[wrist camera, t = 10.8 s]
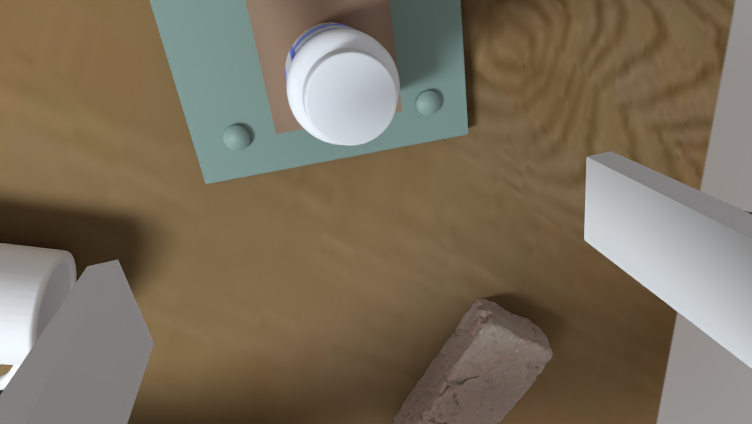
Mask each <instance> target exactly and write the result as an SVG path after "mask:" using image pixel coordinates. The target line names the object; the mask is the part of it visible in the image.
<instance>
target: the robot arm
mask: <svg viewBox="0 0 752 424" xmlns="http://www.w3.org/2000/svg"><path fill="white" fill-rule="evenodd" d="M584 240H585V241H586V242H587V243H589V244H590V245H591V246H593V247H594V248H595V249H597V250H598V251H599V252H600V253H602V254H603V255H604V256H606V257H607V258H608V259H610V260H611V261H612V262H613V263H615V264H616V265H617V266H619V267H620V268H621V269H623V270H624V271H625V272H626V273H628V274H629V275H630V276H632V277H633V278H634V279H636V280H637V281H638V282H640V283H641V284H642V285H643V286H645V287H646V288H647V289H649V290H650V291H651V292H653V293H654V294H655V295H656V296H658V297H659V298H660V299H662V300H663V301H664V302H666V303H667V304H668V305H670V306H671V307H672V308H673V309H675V310H676V311H677V312H679V313H680V314H681V315H683V316H684V317H685V318H687V319H688V320H689V321H691V322H692V323H693V324H694V325H696V326H697V327H698V328H699V329H701V330H702V331H704V332H705V333H706V334H707V335H709V336H710V337H711V338H713V339H714V340H715V341H716V342H718V343H719V344H720V345H722V346H723V347H724V348H726V349H727V350H728V351H729V352H731V353H732V354H733V355H735V356H736V357H737V358H739V359H740V360H741V361H743V362H744V363H746V365H748V366H749V367H750V368H752V213H751V212H746V211H743V210H741V209H739V208H736V207H734V206H732V205H730V204H727V203H725V202H723V201H721V200H719V199H716V198H714V197H712V196H710V195H707V194H705V193H703V192H701V191H698V190H696V189H694V188H692V187H690V186H687V185H685V184H683V183H681V182H678V181H676V180H674V179H672V178H669V177H667V176H665V175H663V174H661V173H658V172H656V171H654V170H652V169H649V168H647V167H645V166H643V165H640V164H638V163H636V162H634V161H632V160H629V159H627V158H625V157H623V156H620V155H618V154H616V153H614V152H611V151H610V152H605V153H601V154H596V155H592V156H587V162H586V195H585V228H584ZM153 345H154V342H153V340H152V338H151V335H150V333H149V331H148V328H147V326H146V324H145V321H144V319H143V317H142V314H141V312H140V310H139V307H138V305H137V303H136V300H135V298H134V296H133V293H132V291H131V289H130V286H129V284H128V282H127V279H126V277H125V275H124V272H123V270H122V268H121V265H120V263H119V260H114V261H109V262H105V263H100V264H96V265H91V266H87V267H86V269H85V270H84V272H83V273H82V275H81V276H80V278H79V279H78V281H77V282H76V284H75V285H74V287H73V288H72V290H71V291H70V293H69V294H68V296H67V297H66V298H65V300H64V301H63V303H62V304H61V306H60V307H59V309H58V310H57V312H56V313H55V315H54V316H53V318H52V319H51V321H50V322H49V324H48V325H47V327H46V328H45V330H44V331H43V332H42V334H41V335H40V337H39V338H38V340H37V341H36V343H35V344H34V346H33V347H32V349H31V350H30V352H29V353H28V355H27V356H26V358H25V359H24V361H23V362H22V364H21V365H20V366H19V368H18V369H17V371H16V372H15V374H14V375H13V377H12V378H11V380H10V381H9V383H8V384H7V386H6V387H5V389H3V390H0V424H127V423H128V420H129V417H130V414H131V411H132V408H133V405H134V402H135V399H136V396H137V393H138V390H139V387H140V384H141V381H142V378H143V375H144V372H145V369H146V366H147V363H148V360H149V357H150V354H151V351H152V348H153Z"/></svg>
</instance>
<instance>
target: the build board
mask: <svg viewBox="0 0 752 424" xmlns="http://www.w3.org/2000/svg"><path fill="white" fill-rule="evenodd" d="M150 3H151V6H152V10H153V13H154V16H155V19H156V23H157V26H158V29H159V32H160V36H161V39H162V42H163V46H164V49H165V52H166V55H167V59H168V62H169V65H170V69H171V72H172V75H173V78H174V82H175V85H176V88H177V91H178V95H179V98H180V101H181V105H182V108H183V111H184V114H185V118H186V121H187V124H188V127H189V131H190V134H191V137H192V141H193V144H194V147H195V150H196V154H197V157H198V160H199V164H200V167H201V170H202V173H203V177H204V180H205V183H206V184H209V183H214V182H220V181H225V180H230V179H235V178H241V177H246V176H251V175H256V174H262V173H267V172H272V171H277V170H283V169H288V168H293V167H298V166H304V165H309V164H314V163H319V162H325V161H330V160H335V159H340V158H346V157H351V156H356V155H361V154H367V153H372V152H377V151H382V150H388V149H393V148H398V147H403V146H409V145H414V144H419V143H425V142H430V141H435V140H440V139H446V138H451V137H456V136H461V135H467V134H468V120H467V103H466V85H465V68H464V50H463V33H462V15H461V0H390V9H391V18H392V27H393V36H394V44H395V53H396V62H397V71H398V75H399V82H400V97H401V106H402V111H400V112H395V114H394V117H393V119H392V121H391V123H390V124H389V126H388V127H387V128H386V129H385V131H384V132H383V133H382V134H380V135H379V136H378V137H377V138H375V139H373V140H372V141H369V142H367V143H364V144H361V145H354V146H347V145H336V144H330V143H327V142H324V141H322V140H319V139H318V138H316V137H314V136H313V135H311V134H310V133H309V132H307V131H306V130H305V129H301V130H296V131H290V132H285V133H279V134H276V131H275V127H274V122H273V118H272V114H271V109H270V105H269V100H268V96H267V92H266V87H265V83H264V79H263V74H262V70H261V65H260V61H259V57H258V52H257V48H256V44H255V39H254V35H253V30H252V26H251V22H250V17H249V13H248V9H247V4H246V0H150Z"/></svg>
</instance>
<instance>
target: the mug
mask: <svg viewBox="0 0 752 424" xmlns="http://www.w3.org/2000/svg"><path fill="white" fill-rule="evenodd" d="M75 284H76V264H75V260H74V258H73V256H72V254H71V253H70V252H68V251H65V250H57V249H48V248H40V247H31V246H23V245H14V244H6V243H0V364H8V365H13V367H12V368H11V370H10V371H9V372H8V373H7V374H5V375H2V376H0V390H3V389H5V387H6V386H7V384H8V383H9V381H10V380H11V378H12V377H13V375H14V374H15V372H16V371H17V369H18V368H19V366H20V365H21V364H22V362H23V361H24V359H25V358H26V356H27V355H28V353H29V352H30V350H31V349H32V347H33V346H34V344H35V343H36V341H37V340H38V338H39V337H40V335H41V334H42V332H43V331H44V330H45V328H46V327H47V325H48V324H49V322H50V321H51V319H52V318H53V316H54V315H55V313H56V312H57V310H58V309H59V307H60V306H61V304H62V303H63V301H64V300H65V298H66V297H67V296H68V294H69V293H70V291H71V290H72V288H73V287H74V285H75Z"/></svg>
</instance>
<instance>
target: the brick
mask: <svg viewBox="0 0 752 424" xmlns="http://www.w3.org/2000/svg"><path fill="white" fill-rule="evenodd" d="M552 355H553V352H552V349H551V348H550V345H549V341H548V339H547V337H546V335H545V334H544V333H543V332H542V330H541V328H539V327H537V326H536V325H535V324H534V323H533V322H532V321H529V319H528V318H526V317H521V316H518V315H515V314H513V313H511V312H510V311H507V310H506V309H504V308H502V307H500V306H499V305H498V304H496V303H495V302H492V301H489V300H487V299H478V300H476V302H475V303H473V304H472V306H471V307H470V309H469V310H468V311H467V312H466V313H465V315H464V316H463V318H462V319H461V321H460V322H459V324H458V326H457V328H456V330H455V333H453V334H452V336H451V337H450V338H449V339H448V340H447V341H446V342H445V344H444V345H443V347H442V349H441V350H440V352H439V354H438V355H437V356H436V357H435V358H434V359H433V360H432V362H431V364H430V365H429V367H428V368H427V369H426V371H425V373H424V375H423V376H421V378H420V379H419V381H418V382H417V383H416V385H415V387H414V388H413V389H412V391H411V392H410V394H409V395H408V396H407V398H406V399H405V401H404V403H403V405H402V406H401V408H400V410H399V411H398V412H397V414H396V416H395V417H394V420H393V424H497V423H498V422H500V421H501V420H503V418H504V417H505V416H506V415H507V413H508V412H509V411H510V410H511V409H512V408H513V407H514V406H515V404H516V403H517V401H518V400H519V399H521V397H522V396H523V395H524V394H525V392H526V391H527V390H528V388H530V387H531V386H532V384H533V383H534V382H535V380H536V377H537V375H539V374H541V372H542V371H543V369H544V367H545V365H546V363H547V362H548V361H550V360H551V358H552Z"/></svg>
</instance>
